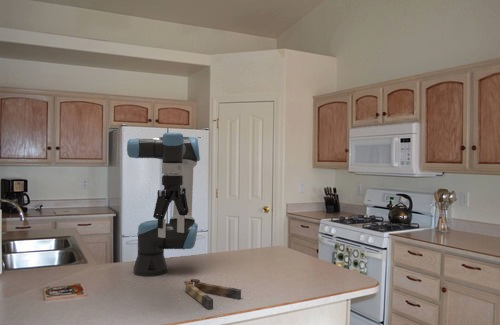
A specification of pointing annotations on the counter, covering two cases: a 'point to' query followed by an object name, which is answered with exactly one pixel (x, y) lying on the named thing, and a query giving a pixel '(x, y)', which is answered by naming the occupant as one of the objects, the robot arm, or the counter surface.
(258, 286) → the counter surface
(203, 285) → the base
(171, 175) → the robot arm
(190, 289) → the tong arm
